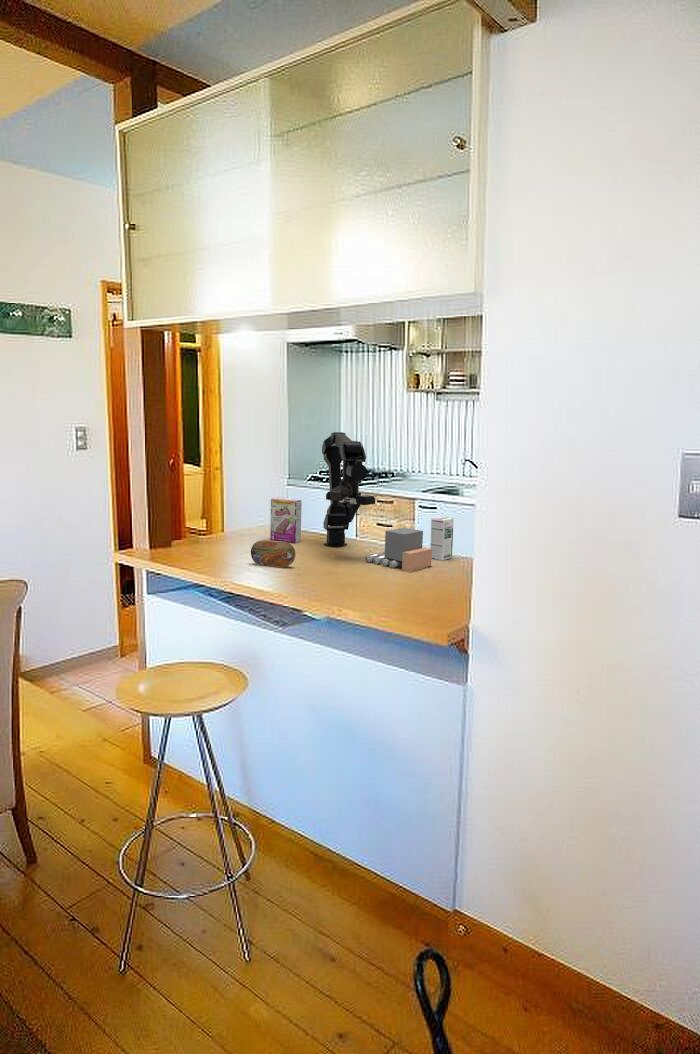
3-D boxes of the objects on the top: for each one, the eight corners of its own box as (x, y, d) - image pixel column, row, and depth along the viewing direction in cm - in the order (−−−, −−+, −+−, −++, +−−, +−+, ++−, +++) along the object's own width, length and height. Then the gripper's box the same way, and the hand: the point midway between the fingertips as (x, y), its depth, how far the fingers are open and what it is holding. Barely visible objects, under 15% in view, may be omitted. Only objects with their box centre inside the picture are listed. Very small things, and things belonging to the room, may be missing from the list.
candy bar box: (269, 540, 272) (270, 498, 269) (275, 538, 276) (276, 497, 273) (295, 543, 268) (296, 500, 265) (301, 541, 272) (302, 499, 269)
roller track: (364, 561, 240) (365, 555, 239) (387, 556, 248) (387, 550, 248) (394, 568, 231) (394, 561, 231) (416, 563, 240) (416, 556, 239)
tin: (250, 564, 231) (250, 539, 230) (254, 562, 234) (254, 537, 233) (292, 569, 227) (293, 543, 226) (296, 566, 230) (296, 541, 229)
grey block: (384, 557, 235) (385, 530, 233) (403, 553, 242) (404, 527, 241) (403, 561, 230) (404, 534, 228) (421, 557, 237) (423, 530, 235)
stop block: (401, 570, 229) (402, 552, 228) (423, 564, 238) (424, 547, 237) (409, 571, 227) (410, 553, 226) (431, 566, 236) (432, 548, 235)
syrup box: (442, 560, 245) (445, 519, 242) (429, 557, 249) (431, 517, 246) (452, 558, 249) (454, 518, 246) (438, 555, 253) (440, 515, 250)
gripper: (315, 476, 244) (314, 521, 247) (355, 481, 232) (353, 528, 235) (337, 475, 252) (336, 518, 255) (377, 479, 240) (375, 524, 243)
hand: (349, 522), depth 247 cm, fingers closed
